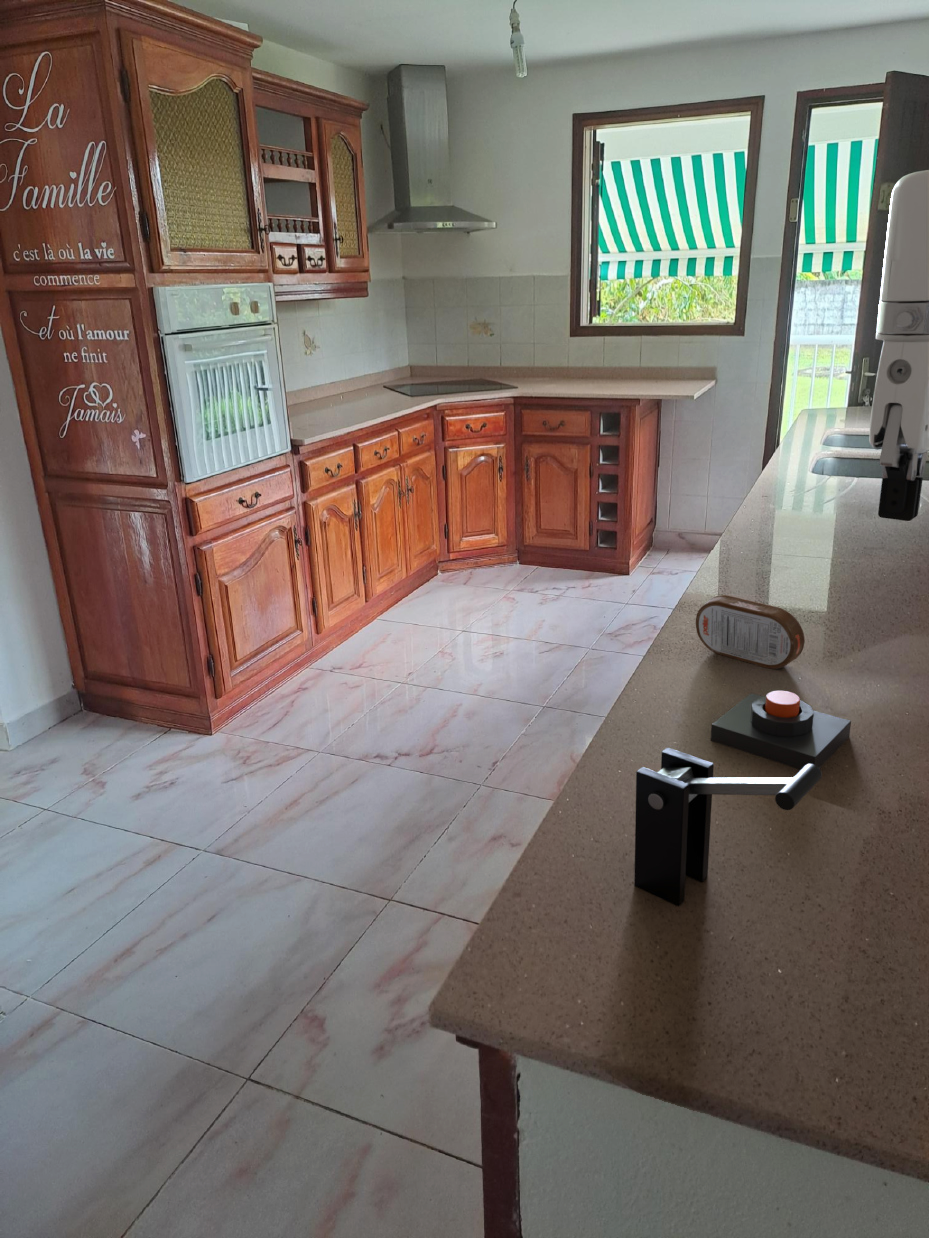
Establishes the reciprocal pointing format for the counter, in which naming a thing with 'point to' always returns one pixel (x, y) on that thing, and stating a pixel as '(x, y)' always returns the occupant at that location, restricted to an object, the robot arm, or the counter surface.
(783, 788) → the lever
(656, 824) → the bracket
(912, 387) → the robot arm
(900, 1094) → the counter surface
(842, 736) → the control block
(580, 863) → the counter surface
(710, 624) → the tin
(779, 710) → the button
